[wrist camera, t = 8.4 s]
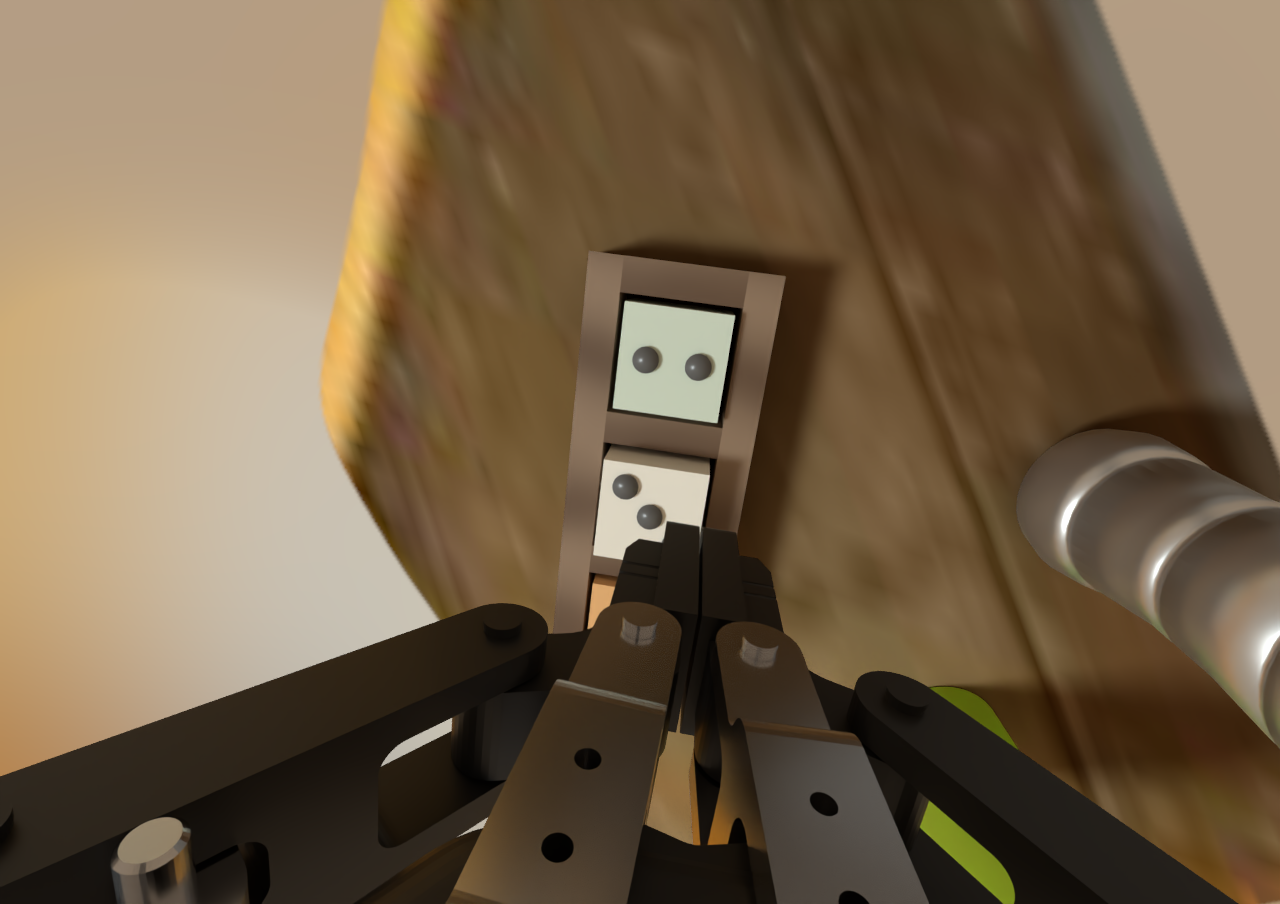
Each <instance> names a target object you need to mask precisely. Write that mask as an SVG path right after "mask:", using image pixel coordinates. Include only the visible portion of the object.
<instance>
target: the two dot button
mask: <svg viewBox="0 0 1280 904" xmlns="http://www.w3.org/2000/svg"><path fill="white" fill-rule="evenodd" d="M734 320H735V315H734V313H733V312H732V311H728V310H720V309H713V308H705V307H698V306H690V305H683V304H675V303H668V302H660V301H653V300H645V299H638V298H631V299H629V300H626V301H625V304H624V313H623V321H622V330H621V339H620V348H619V357H618V366H617V374H616V383H615V392H614V401H613V408H615V409H622V410H628V411H635V412H642V413H649V414H656V415H663V416H670V417H677V418H683V419H690V420H697V421H704V422H711V423H717V421H718V416H719V410H720V404H721V398H722V392H723V386H724V380H725V374H726V368H727V362H728V356H729V350H730V344H731V338H732V332H733V326H734Z"/></svg>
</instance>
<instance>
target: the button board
mask: <svg viewBox="0 0 1280 904" xmlns="http://www.w3.org/2000/svg"><path fill="white" fill-rule="evenodd" d="M785 278H786V276H780V275H772V274H764V273H757V272H749V271H741V270H733V269H726V268H718V267H710V266H702V265H695V264H687V263H679V262H672V261H664V260H656V259H648V258H641V257H633V256H625V255H617V254H610V253H602V252H594V251H589V255H588V265H587V276H586V287H585V297H584V308H583V319H582V329H581V340H580V351H579V361H578V372H577V383H576V393H575V404H574V415H573V425H572V436H571V447H570V457H569V468H568V479H567V489H566V500H565V511H564V521H563V532H562V543H561V553H560V564H559V575H558V585H557V596H556V607H555V617H554V628H553V634H558V633H574V632H579V631H583V630H587V629H588V622H589V613H590V604H591V595H592V586H593V581H594V578H595V573H598V574H605V575H611V576H617V577H618V575H619V571H620V568H621V564H622V561H623V560H621V559H615V558H608V557H602V556H596V555H593V552H594V544H595V535H596V526H597V517H598V508H599V499H600V490H601V481H602V472H603V463H604V458H605V456H606V455H607V453H608V451H609V447H610V443H613V444H620V445H627V446H633V447H640V448H647V449H653V450H660V451H667V452H674V453H680V454H687V455H694V456H700V457H707V458H714V461H713V467H712V473H711V479H710V485H709V491H708V497H707V503H706V509H705V515H704V521H703V526H702V527H708V528H714V529H720V530H726V531H732V532H736V534H737V533H738V528H739V522H740V517H741V512H742V506H743V501H744V496H745V491H746V485H747V480H748V475H749V469H750V464H751V459H752V453H753V448H754V443H755V437H756V432H757V427H758V422H759V416H760V411H761V406H762V400H763V395H764V390H765V384H766V379H767V374H768V368H769V363H770V358H771V352H772V347H773V342H774V337H775V331H776V326H777V321H778V315H779V310H780V305H781V299H782V294H783V289H784V283H785ZM627 293H631V294H639V295H646V296H654V297H661V298H669V299H676V300H684V301H691V302H699V303H706V304H714V305H721V306H729V307H736V308H739V313H738V319H737V325H736V331H735V337H734V343H733V349H732V355H731V361H730V367H729V372H728V378H727V384H726V390H725V396H724V402H723V408H722V414H721V415H719V416H718V421H717V423H711V422H704V421H697V420H690V419H683V418H677V417H670V416H663V415H656V414H649V413H642V412H635V411H628V410H622V409H615V408H613V401H614V392H615V383H616V374H617V366H618V357H619V348H620V339H621V330H622V321H623V313H624V304H625V301H626V297H627Z"/></svg>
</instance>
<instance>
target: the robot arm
mask: <svg viewBox="0 0 1280 904" xmlns="http://www.w3.org/2000/svg"><path fill="white" fill-rule="evenodd" d="M680 708H681V721H680V733H682V734H688V735H693V736H694V749H693V754H692V759H691V764H690V769H689V789H690V805H691V822H692V839H693V845H692V844H688V843H685V842H683V841H680V840H678V839H676V838H674V837H671V836H669V835H667V834H665V833H662V832H660V831H658V830H656V829H654V828H651V827H649V826H647V825H646V824H647V819H648V814H649V808H650V803H651V798H652V793H653V788H654V783H655V777H656V772H657V767H658V761H659V757H660V756H661V754H662V753H663V751H664V749H665V745H666V740H667V734H668V731H671V732H676V730H677V724H678V719H679V714H680ZM450 718H452V731H451V732H449V733H447V734H445V735H443V736H441V737H439V738H437V739H435V740H433V741H431V742H429V743H427V744H425V745H423V746H421V747H419V748H417V749H415V750H413V751H411V752H409V753H408V754H405V755H403V756H401V757H399V758H397V759H395V760H393V761H391V762H390V763H387V764H385V765H384V766H382V767H381V765H382V763H383V761H384V760H385V758H386V757H387V756H388V754H389V753H390V752H391V751H392V750H393V749H394V748H395V747H396V746H397V745H399V744H400V743H402V742H403V741H405V740H407V739H409V738H411V737H413V736H415V735H417V734H419V733H421V732H423V731H425V730H428V729H430V728H432V727H434V726H436V725H438V724H440V723H442V722H444V721H446V720H448V719H450ZM929 801H930V802H932V803H933V804H934V805H935V806H936V807H937V808H939V809H940V810H941V811H942V812H943V813H944V814H946V815H947V816H948V817H949V818H950V819H951V820H952V821H954V822H955V823H956V824H957V825H958V826H959V827H961V828H962V829H963V830H964V831H965V832H966V833H968V834H969V835H970V836H971V837H972V838H973V839H975V840H976V841H977V842H978V843H979V844H980V845H982V846H983V847H984V848H985V849H986V850H987V851H988V852H990V853H991V854H992V855H993V856H994V857H995V858H996V859H997V860H998V861H999V862H1000V863H1001V864H1002V866H1003V867H1004V869H1005V870H1006V872H1007V873H1008V875H1009V877H1010V879H1011V881H1012V884H1013V887H1014V892H1015V901H1014V904H1238V903H1237V902H1235V901H1234V900H1232V899H1231V898H1229V897H1228V896H1227V895H1225V894H1224V893H1222V892H1221V891H1219V890H1218V889H1217V888H1215V887H1214V886H1212V885H1211V884H1209V883H1208V882H1207V881H1205V880H1204V879H1202V878H1201V877H1199V876H1198V875H1197V874H1195V873H1194V872H1192V871H1191V870H1189V869H1188V868H1187V867H1185V866H1184V865H1182V864H1181V863H1179V862H1178V861H1177V860H1175V859H1174V858H1172V857H1171V856H1169V855H1168V854H1166V853H1165V852H1164V851H1162V850H1161V849H1159V848H1158V847H1156V846H1155V845H1154V844H1152V843H1151V842H1149V841H1148V840H1146V839H1145V838H1144V837H1142V836H1141V835H1139V834H1138V833H1136V832H1135V831H1134V830H1132V829H1131V828H1129V827H1128V826H1126V825H1125V824H1124V823H1122V822H1121V821H1119V820H1118V819H1116V818H1115V817H1114V816H1112V815H1111V814H1109V813H1108V812H1106V811H1105V810H1104V809H1102V808H1101V807H1099V806H1098V805H1096V804H1095V803H1093V802H1092V801H1091V800H1089V799H1088V798H1086V797H1085V796H1083V795H1082V794H1081V793H1079V792H1078V791H1076V790H1075V789H1073V788H1072V787H1071V786H1069V785H1068V784H1066V783H1065V782H1063V781H1062V780H1061V779H1059V778H1058V777H1056V776H1055V775H1053V774H1052V773H1051V772H1049V771H1048V770H1046V769H1045V768H1043V767H1042V766H1041V765H1039V764H1038V763H1036V762H1035V761H1033V760H1032V759H1030V758H1029V757H1028V756H1026V755H1025V754H1023V753H1022V752H1020V751H1019V750H1018V749H1016V748H1015V747H1013V746H1012V745H1010V744H1009V743H1008V742H1006V741H1005V740H1003V739H1002V738H1000V737H999V736H998V735H996V734H995V733H993V732H992V731H990V730H989V729H988V728H986V727H985V726H983V725H982V724H980V723H979V722H978V721H976V720H975V719H973V718H972V717H970V716H969V715H968V714H966V713H965V712H963V711H962V710H960V709H959V708H957V707H956V706H955V705H953V704H952V703H950V702H949V701H947V700H946V699H945V698H943V697H942V696H940V695H939V694H937V693H936V692H935V691H933V690H932V689H930V688H929V687H927V686H925V685H924V684H922V683H920V682H918V681H916V680H914V679H911V678H909V677H906V676H903V675H900V674H896V673H892V672H885V671H874V672H869V673H865V674H863V675H862V676H860V677H859V678H858V680H857V682H856V685H855V688H854V690H852V689H850V688H847V687H844V686H842V685H839V684H837V683H834V682H832V681H829V680H827V679H824V678H822V677H820V676H818V675H816V674H814V673H813V672H811V671H810V670H808V668H807V665H806V662H805V659H804V657H803V654H802V652H801V650H800V648H799V646H798V645H797V644H796V643H795V642H794V641H793V640H792V639H791V638H790V637H789V636H787V635H786V634H784V632H783V627H782V623H781V618H780V613H779V609H778V604H777V600H776V595H775V590H774V589H773V581H772V576H771V572H770V571H769V570H768V569H767V568H766V567H765V566H764V565H763V563H762V562H761V561H760V560H759V559H757V558H751V557H745V556H739V550H738V542H737V534H736V532H732V531H726V530H720V529H714V528H708V527H702V530H701V534H700V526H695V525H689V524H683V523H677V522H671V521H667V522H666V528H665V535H664V541H663V543H662V542H656V541H650V540H644V539H638V540H636V541H635V542H633V543H632V544H631V545H629V546H628V547H626V550H625V553H624V557H623V561H622V564H621V568H620V571H619V575H618V578H617V582H616V585H615V589H614V592H613V596H612V599H611V603H610V606H608V607H606V608H605V609H603V610H602V611H601V612H600V614H599V615H598V617H597V619H596V621H595V624H594V626H593V627H592V628H589V629H587V630H583V631H579V632H574V633H558V634H548V626H547V623H546V621H545V620H544V618H543V617H542V616H541V615H540V614H538V613H537V612H535V611H534V610H532V609H529V608H527V607H524V606H521V605H516V604H508V603H497V604H489V605H484V606H480V607H477V608H474V609H471V610H468V611H466V612H463V613H460V614H457V615H454V616H452V617H449V618H446V619H443V620H440V621H437V622H435V623H432V624H429V625H426V626H423V627H421V628H418V629H415V630H412V631H410V632H406V633H404V634H401V635H398V636H395V637H392V638H390V639H387V640H384V641H381V642H378V643H375V644H373V645H370V646H367V647H364V648H361V649H359V650H356V651H353V652H350V653H347V654H344V655H342V656H339V657H336V658H333V659H330V660H328V661H325V662H322V663H319V664H316V665H313V666H311V667H308V668H305V669H302V670H299V671H296V672H294V673H291V674H288V675H285V676H283V677H280V678H277V679H274V680H271V681H268V682H265V683H263V684H260V685H257V686H254V687H252V688H249V689H246V690H243V691H240V692H238V693H235V694H232V695H229V696H226V697H223V698H220V699H218V700H215V701H212V702H209V703H206V704H203V705H201V706H198V707H195V708H192V709H189V710H187V711H184V712H181V713H178V714H176V715H172V716H170V717H167V718H164V719H161V720H158V721H155V722H153V723H150V724H147V725H144V726H142V727H139V728H136V729H133V730H130V731H127V732H125V733H122V734H119V735H116V736H113V737H110V738H108V739H105V740H102V741H99V742H96V743H93V744H91V745H88V746H85V747H82V748H80V749H77V750H74V751H71V752H68V753H65V754H63V755H60V756H57V757H54V758H51V759H48V760H45V761H43V762H40V763H37V764H35V765H31V766H29V767H26V768H23V769H20V770H17V771H15V772H12V773H9V774H6V775H3V776H0V904H1003V903H1002V902H1001V901H1000V900H999V899H998V898H996V897H995V896H994V895H993V894H992V893H991V892H990V891H989V890H988V889H987V888H986V887H984V886H983V885H982V884H981V883H980V882H979V881H978V880H977V879H976V878H975V877H973V876H972V875H971V874H970V873H969V872H968V871H967V870H966V869H965V868H964V867H962V866H961V865H960V864H959V863H958V862H957V861H956V860H955V859H954V858H953V857H952V856H950V855H949V854H948V853H947V852H946V851H945V850H944V849H943V848H942V847H941V846H939V845H938V844H937V843H936V842H935V841H934V840H933V839H932V838H931V837H930V836H929V835H927V834H926V833H925V832H924V831H923V830H922V829H921V828H920V825H921V822H922V820H923V817H924V814H925V811H926V808H927V806H928V803H929ZM487 817H488V819H487V821H486V823H485V826H484V828H482V829H478V830H475V831H472V832H469V833H467V834H464V835H462V836H459V835H461V834H462V833H464V832H465V831H467V830H469V829H470V828H471V827H473V826H475V825H476V824H477V823H479V822H481V821H482V820H484V819H485V818H487ZM458 836H459V837H458ZM456 837H457V838H456Z"/></svg>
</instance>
